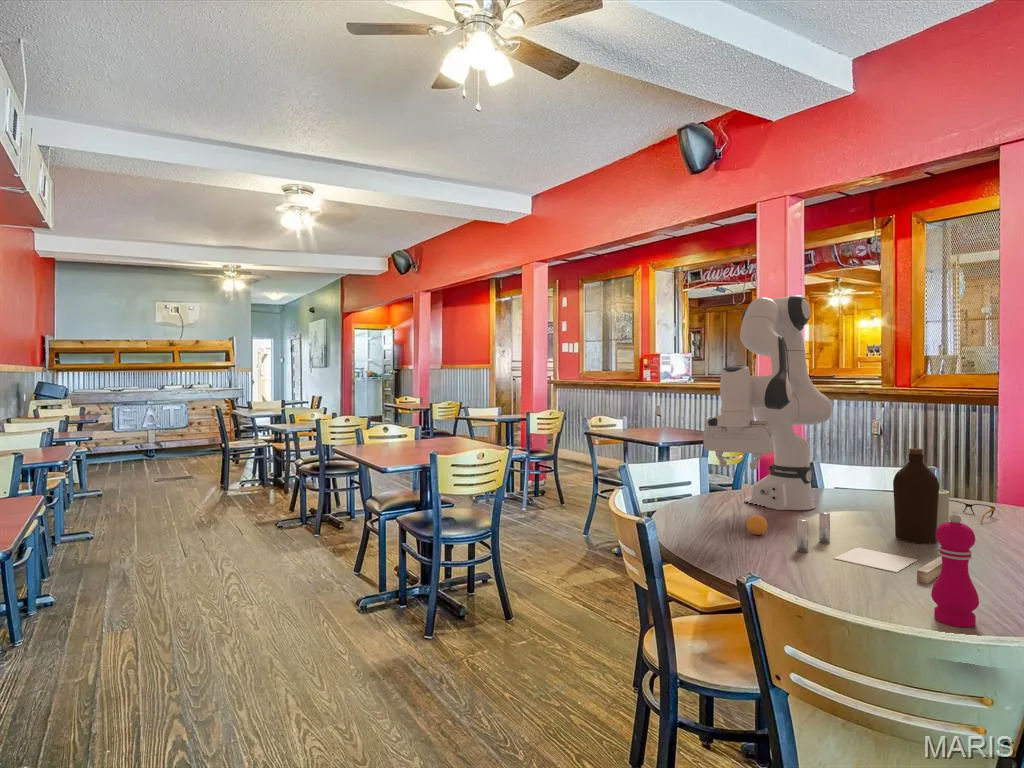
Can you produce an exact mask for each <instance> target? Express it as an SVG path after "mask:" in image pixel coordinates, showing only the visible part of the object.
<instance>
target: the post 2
mask: <svg viewBox="0 0 1024 768" xmlns="http://www.w3.org/2000/svg"><path fill="white" fill-rule="evenodd" d="M818 515H819V516H818V517H819V519H818V525H819V526H818V529H819V530H818V534H819V536H818V542H819V543H821V544H827V545H828V544H830V543H831V513H830V512H828V511H827V512H826V511H819V513H818Z"/></svg>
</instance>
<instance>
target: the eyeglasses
mask: <svg viewBox="0 0 1024 768" xmlns="http://www.w3.org/2000/svg"><path fill="white" fill-rule="evenodd" d="M949 502H956V503H960V504H963V505H965V508H964V510H963V511H962V512H964V513H965V512H966V510H967V509H968V507H969V508H970V511H971V512H972V514H973V515H975V512H974V510H973V506H983V507H989V508H990V509H989V510H987V511H986V512H984V513H983V515H982V517H981V520H980V523H979V525H982V524H983V520H984V517H985V516H986V515H987V514H990V513H991V514H990V516H988V518H992V517H993V514H995V513H994V512H995V511H996V506H992V505H987V504H983V503H973V504H972V503H971V504H970V503H966V502H962V501H960V500H959V501H957V500H951V499H949Z"/></svg>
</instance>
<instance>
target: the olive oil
mask: <svg viewBox="0 0 1024 768" xmlns="http://www.w3.org/2000/svg"><path fill="white" fill-rule="evenodd" d="M923 453H924V449H922V448H918V447H917V448H916V447H914V448H913V447H912V448H909V449H908V462H907V463H906V464H905V465H904V466H903V467H901V468H900V469H899V470H898V471H897V472H896V473H895V474H894V478H893V479H892V480H893V481H892V489H893V490H892V492H893V504H894V507H893V508H894V529H895V530H894V535H895V536H894V537H895V538H896V539H897V538H898V540H900V541H903V542H906V541H908V542H907V543H912V542H914V544H920V543H931V544H935V543H937V539H936V530H937V513H938V498H939V489H940V482H939V480H938V477H937V475H936V474H935V473H933V471H932V470H931V469H930V468H928V466H927V465H925V464H924V454H923ZM934 542H935V543H934Z"/></svg>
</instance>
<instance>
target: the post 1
mask: <svg viewBox="0 0 1024 768" xmlns="http://www.w3.org/2000/svg"><path fill="white" fill-rule="evenodd" d="M796 525H797V526H796V527H797V529H796V536H797V538H796V539H797V540H796V551H797V552H798V551H799V553H804V552H807V553H809V520H808V519H801V518H798V519H796Z"/></svg>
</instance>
